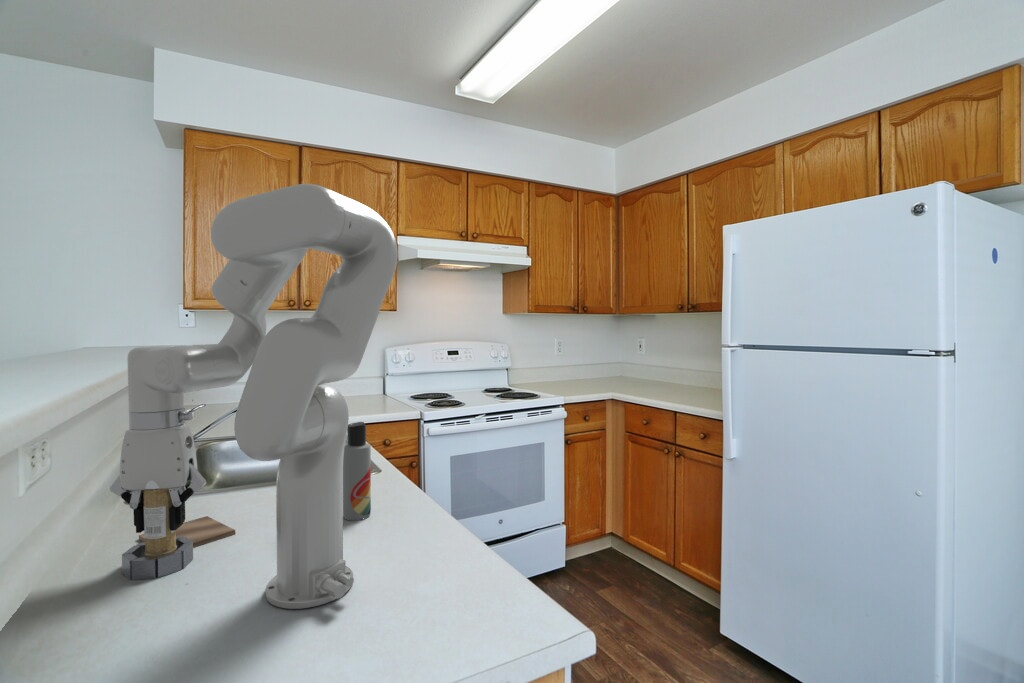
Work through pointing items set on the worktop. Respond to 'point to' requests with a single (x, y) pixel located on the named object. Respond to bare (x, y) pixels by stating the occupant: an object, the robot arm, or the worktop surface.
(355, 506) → the lotion bottle
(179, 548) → the grey segmented ring
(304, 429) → the robot arm
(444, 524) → the worktop surface
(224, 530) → the walnut board
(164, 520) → the sprinkles bottle
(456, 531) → the worktop surface
